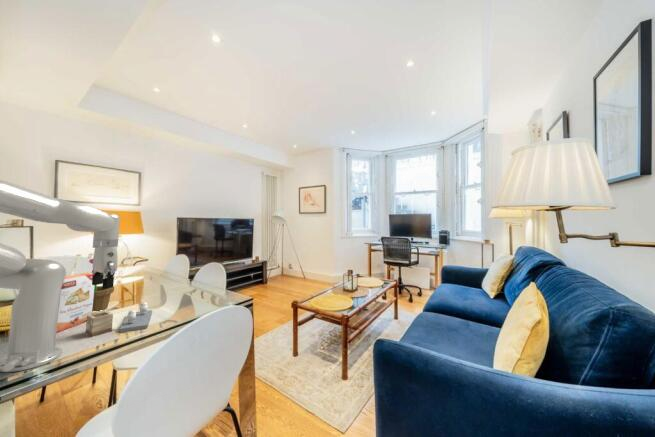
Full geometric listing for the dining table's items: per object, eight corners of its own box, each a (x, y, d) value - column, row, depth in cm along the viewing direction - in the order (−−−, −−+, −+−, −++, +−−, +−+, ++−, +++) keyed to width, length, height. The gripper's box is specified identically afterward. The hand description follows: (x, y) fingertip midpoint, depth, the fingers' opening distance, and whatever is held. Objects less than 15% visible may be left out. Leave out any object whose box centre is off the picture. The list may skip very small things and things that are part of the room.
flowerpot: (87, 316, 110) (92, 251, 112) (64, 313, 113) (69, 250, 114) (120, 306, 124) (124, 249, 126) (98, 304, 127) (103, 247, 128)
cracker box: (57, 333, 93) (61, 279, 94) (42, 332, 93) (46, 279, 94) (92, 319, 107) (96, 273, 108) (79, 319, 107) (83, 272, 108)
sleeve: (111, 331, 97) (113, 313, 97) (91, 336, 91) (93, 318, 92) (105, 327, 100) (106, 310, 100) (85, 333, 94) (87, 315, 95)
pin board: (147, 328, 100) (148, 311, 101) (119, 332, 96) (120, 314, 96) (152, 313, 117) (153, 298, 118) (128, 316, 113) (129, 300, 113)
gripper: (127, 244, 96) (123, 287, 95) (108, 242, 104) (105, 281, 104) (102, 245, 90) (99, 291, 89) (84, 242, 98) (81, 284, 97)
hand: (102, 286), depth 96 cm, fingers open, 9 cm apart
